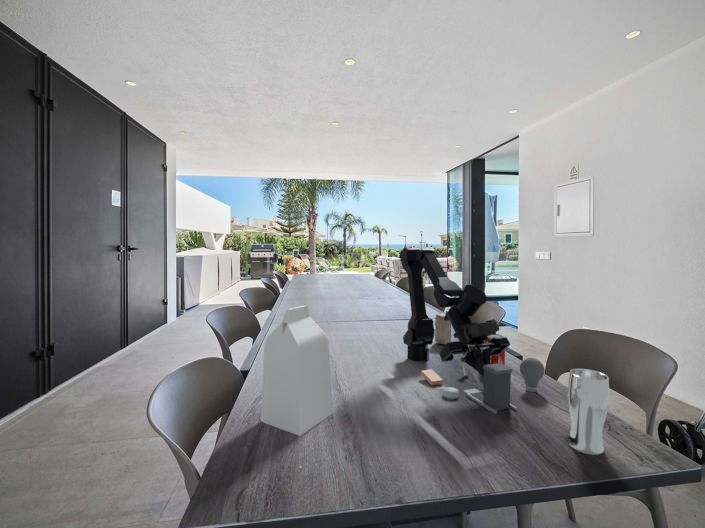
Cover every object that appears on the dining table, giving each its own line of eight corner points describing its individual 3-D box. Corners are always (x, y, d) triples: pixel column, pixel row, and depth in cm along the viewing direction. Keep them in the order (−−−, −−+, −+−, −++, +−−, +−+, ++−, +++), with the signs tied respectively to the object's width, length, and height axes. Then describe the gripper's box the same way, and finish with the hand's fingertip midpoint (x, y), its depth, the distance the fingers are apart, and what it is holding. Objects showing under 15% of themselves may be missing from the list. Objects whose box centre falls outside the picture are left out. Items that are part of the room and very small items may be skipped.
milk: (299, 436, 78) (299, 314, 76) (261, 421, 84) (259, 309, 82) (332, 413, 88) (332, 306, 86) (295, 402, 94) (295, 301, 92)
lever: (462, 375, 109) (458, 357, 111) (467, 374, 110) (463, 356, 111) (465, 375, 108) (462, 356, 109) (470, 374, 108) (467, 356, 110)
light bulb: (541, 391, 101) (543, 356, 100) (545, 400, 95) (546, 363, 95) (517, 388, 103) (519, 353, 102) (520, 397, 97) (521, 360, 97)
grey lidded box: (481, 403, 90) (483, 365, 90) (497, 400, 92) (499, 363, 91) (494, 411, 86) (495, 371, 86) (510, 408, 88) (512, 368, 87)
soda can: (506, 378, 111) (507, 339, 110) (481, 376, 112) (483, 338, 111) (501, 370, 118) (503, 333, 117) (478, 368, 119) (479, 332, 118)
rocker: (420, 374, 107) (421, 370, 106) (431, 372, 108) (431, 369, 108) (431, 385, 101) (432, 381, 101) (442, 383, 102) (443, 379, 102)
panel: (410, 379, 109) (410, 370, 109) (461, 372, 115) (461, 364, 115) (470, 424, 83) (471, 412, 83) (532, 412, 89) (532, 401, 89)
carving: (453, 342, 149) (454, 313, 148) (447, 347, 142) (448, 316, 142) (438, 340, 152) (439, 311, 151) (432, 344, 146) (432, 315, 145)
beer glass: (558, 438, 77) (561, 368, 76) (589, 436, 78) (592, 367, 77) (581, 457, 70) (585, 381, 69) (615, 455, 71) (619, 380, 70)
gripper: (447, 311, 92) (474, 368, 82) (506, 306, 98) (538, 360, 88) (429, 334, 100) (453, 389, 90) (485, 329, 106) (513, 380, 96)
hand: (490, 379), depth 91 cm, fingers closed
